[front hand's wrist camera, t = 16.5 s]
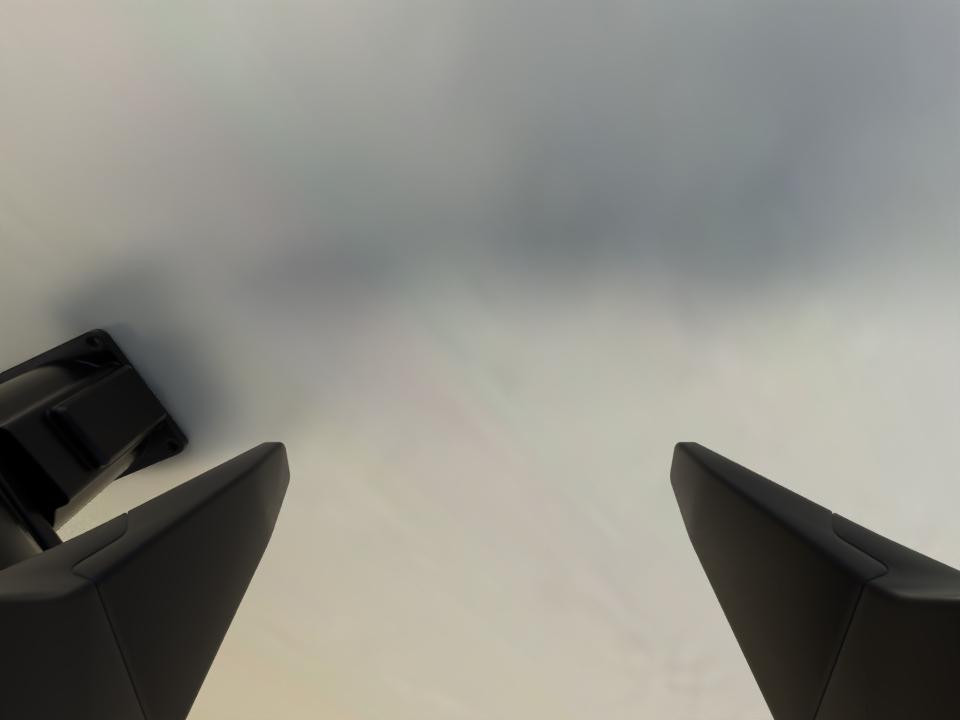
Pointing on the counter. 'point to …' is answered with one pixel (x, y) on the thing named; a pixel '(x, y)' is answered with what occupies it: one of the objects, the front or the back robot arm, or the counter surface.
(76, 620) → the front robot arm
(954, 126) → the counter surface
